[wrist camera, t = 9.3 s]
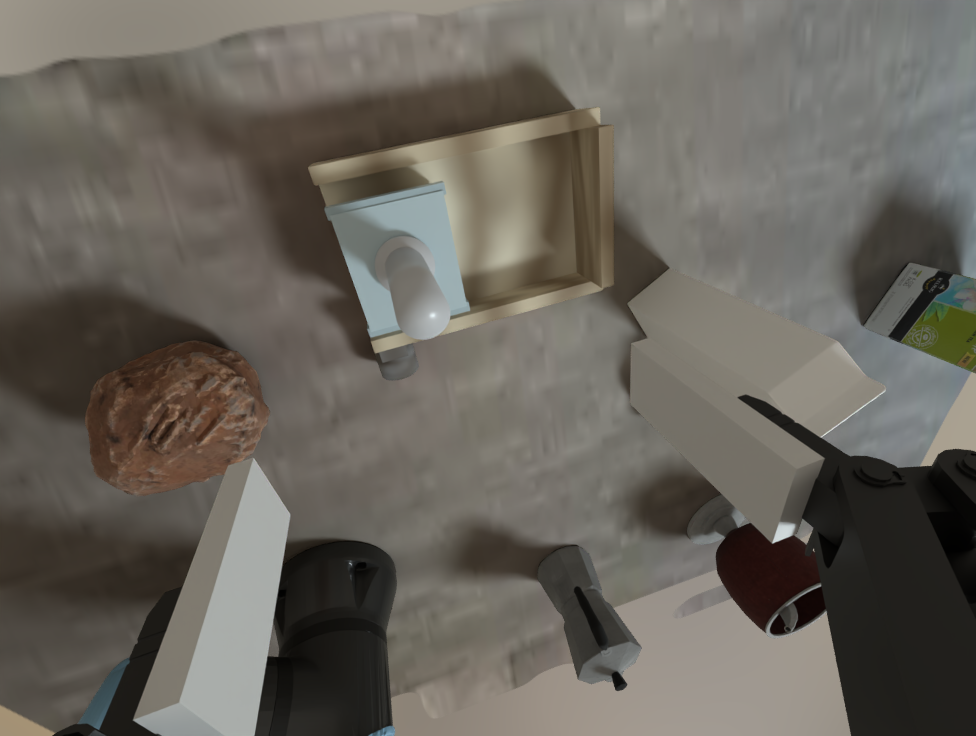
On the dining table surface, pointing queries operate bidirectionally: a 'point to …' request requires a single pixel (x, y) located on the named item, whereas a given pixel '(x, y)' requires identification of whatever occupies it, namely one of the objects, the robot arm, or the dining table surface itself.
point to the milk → (754, 351)
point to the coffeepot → (588, 618)
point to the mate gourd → (761, 570)
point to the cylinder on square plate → (402, 259)
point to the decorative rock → (174, 418)
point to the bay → (502, 213)
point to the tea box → (930, 314)
